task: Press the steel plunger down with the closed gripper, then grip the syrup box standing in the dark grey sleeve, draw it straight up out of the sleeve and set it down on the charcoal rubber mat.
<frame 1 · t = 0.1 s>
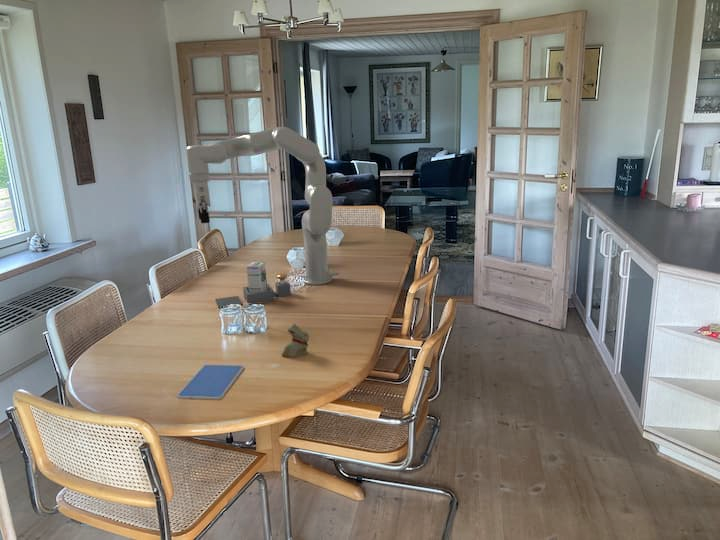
hand: (204, 220, 227), 31 cm above the table, tool pointing down, fingers open, 9 cm apart
syrup box: (259, 299, 229), resting in housing
tablet computer: (212, 384, 159), on the table
chocolate bunny: (296, 354, 175), on the table
plunger: (282, 282, 231), point 6 cm above the table, slide at 0.0 cm
mat: (228, 302, 225), on the table
housing: (258, 298, 229), on the table
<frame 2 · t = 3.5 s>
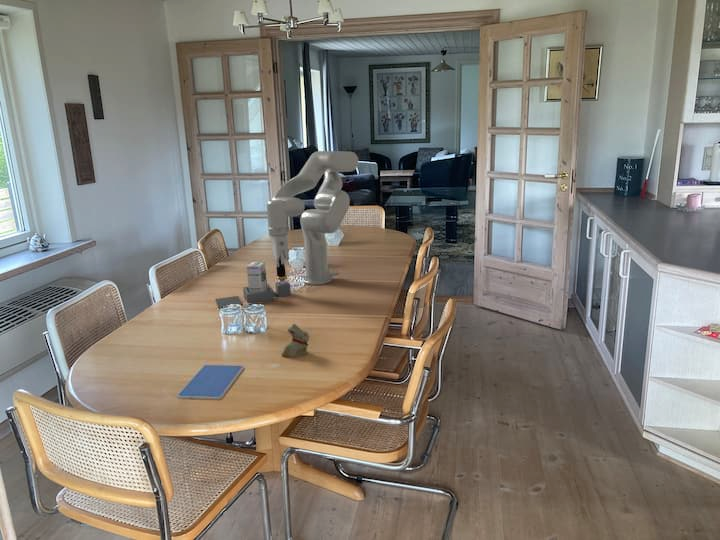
hand: (281, 276, 230), 8 cm above the table, tool pointing down, fingers closed
plunger: (282, 283, 231), point 5 cm above the table, slide at 0.4 cm, touching gripper
everything else where it was.
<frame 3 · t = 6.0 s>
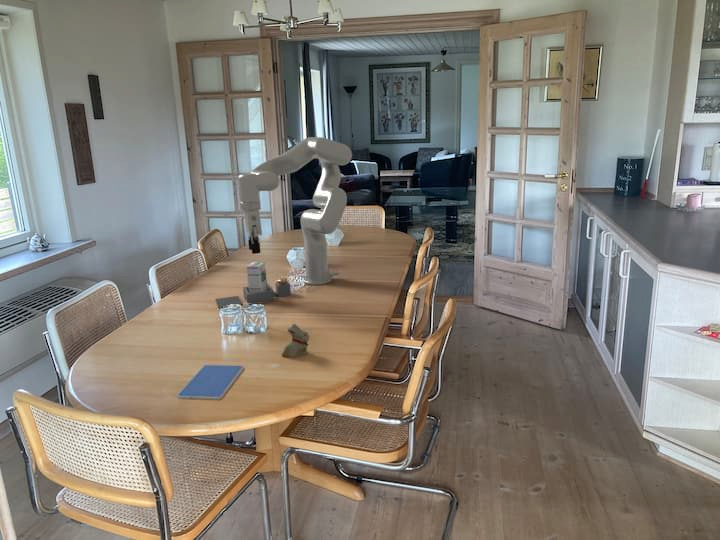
hand: (254, 250, 224), 20 cm above the table, tool pointing down, fingers open, 6 cm apart
plunger: (282, 286, 231), point 4 cm above the table, slide at 1.9 cm
everything else where it was.
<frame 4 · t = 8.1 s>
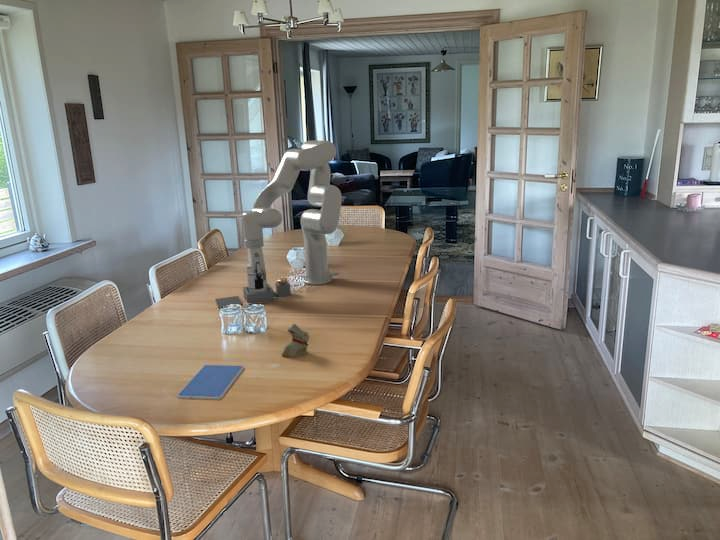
hand: (257, 285, 228), 5 cm above the table, tool pointing down, fingers closed on syrup box, 7 cm apart
syrup box: (258, 299, 229), resting in housing, touching gripper
everything else where it was.
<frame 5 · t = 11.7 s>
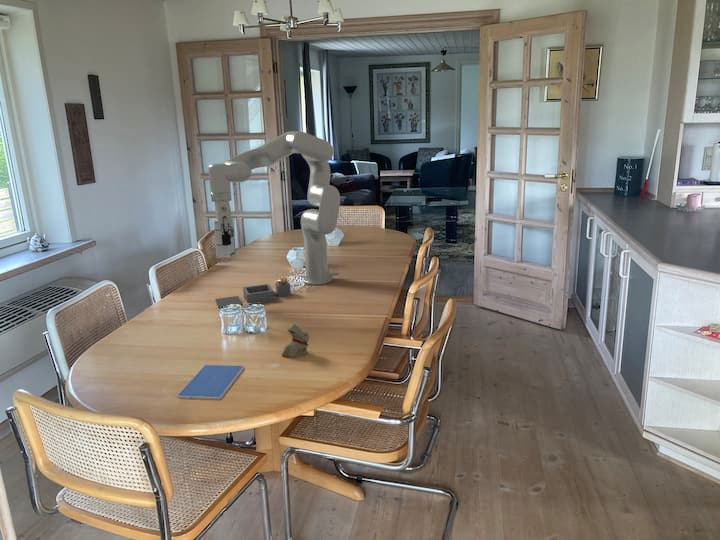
hand: (225, 242, 219), 24 cm above the table, tool pointing down, fingers closed on syrup box, 7 cm apart
syrup box: (225, 256, 221), point 19 cm above the table, touching gripper
everything else where it was.
when the fingers open (7 cm above the table, at t = 15.6 s): syrup box drops 1 cm, resting on mat.
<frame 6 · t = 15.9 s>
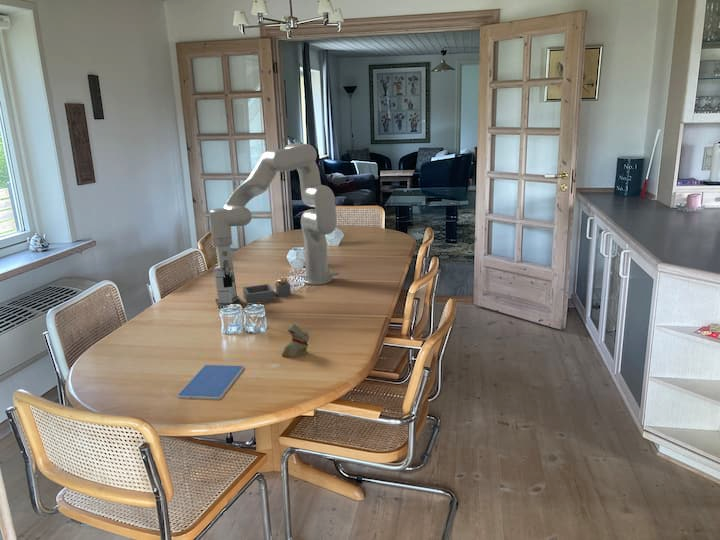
hand: (226, 283, 223), 8 cm above the table, tool pointing down, fingers open, 9 cm apart
syrup box: (227, 301, 226), resting on mat
everything else where it was.
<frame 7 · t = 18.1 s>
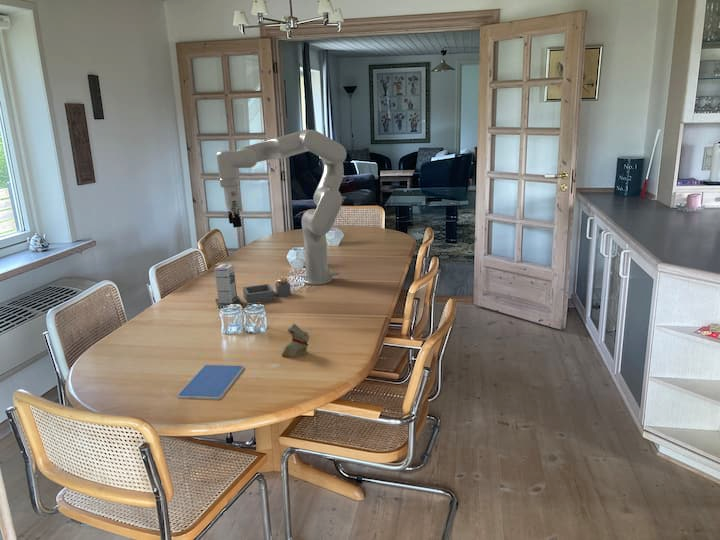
hand: (235, 225, 230), 29 cm above the table, tool pointing down, fingers open, 9 cm apart
nothing on the table moved.
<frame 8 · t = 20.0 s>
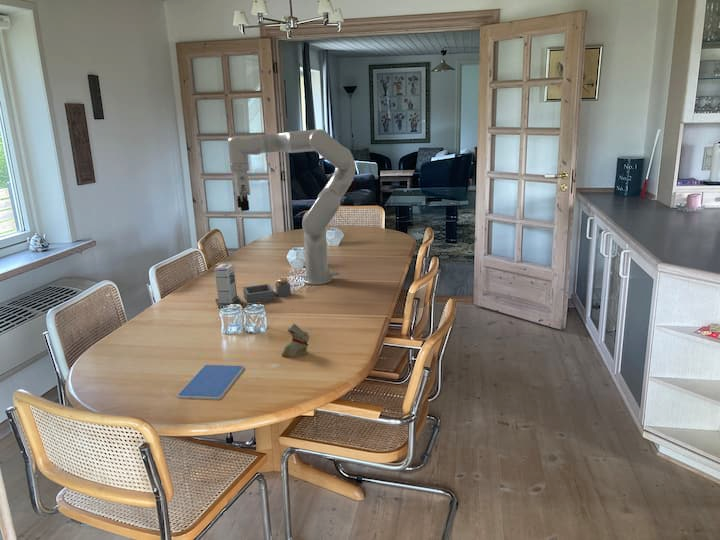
hand: (243, 208, 239), 33 cm above the table, tool pointing down, fingers open, 9 cm apart
nothing on the table moved.
at the end: plunger slide at 1.9 cm; syrup box 0.3 cm from the mat (horizontally); syrup box tilted 0° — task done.
